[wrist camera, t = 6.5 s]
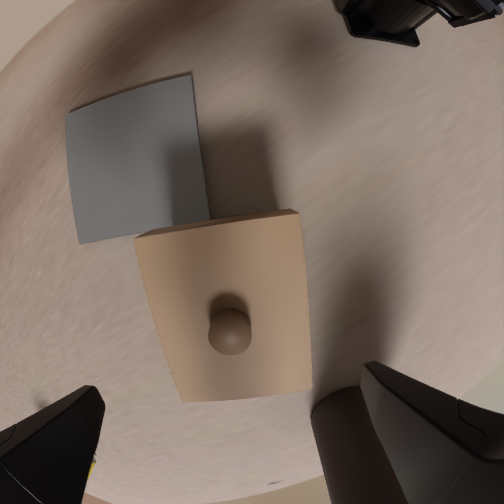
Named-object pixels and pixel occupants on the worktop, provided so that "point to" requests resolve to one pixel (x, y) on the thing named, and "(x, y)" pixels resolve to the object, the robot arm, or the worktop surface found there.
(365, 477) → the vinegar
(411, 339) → the worktop surface
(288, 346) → the cover
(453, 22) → the robot arm
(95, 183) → the mat
